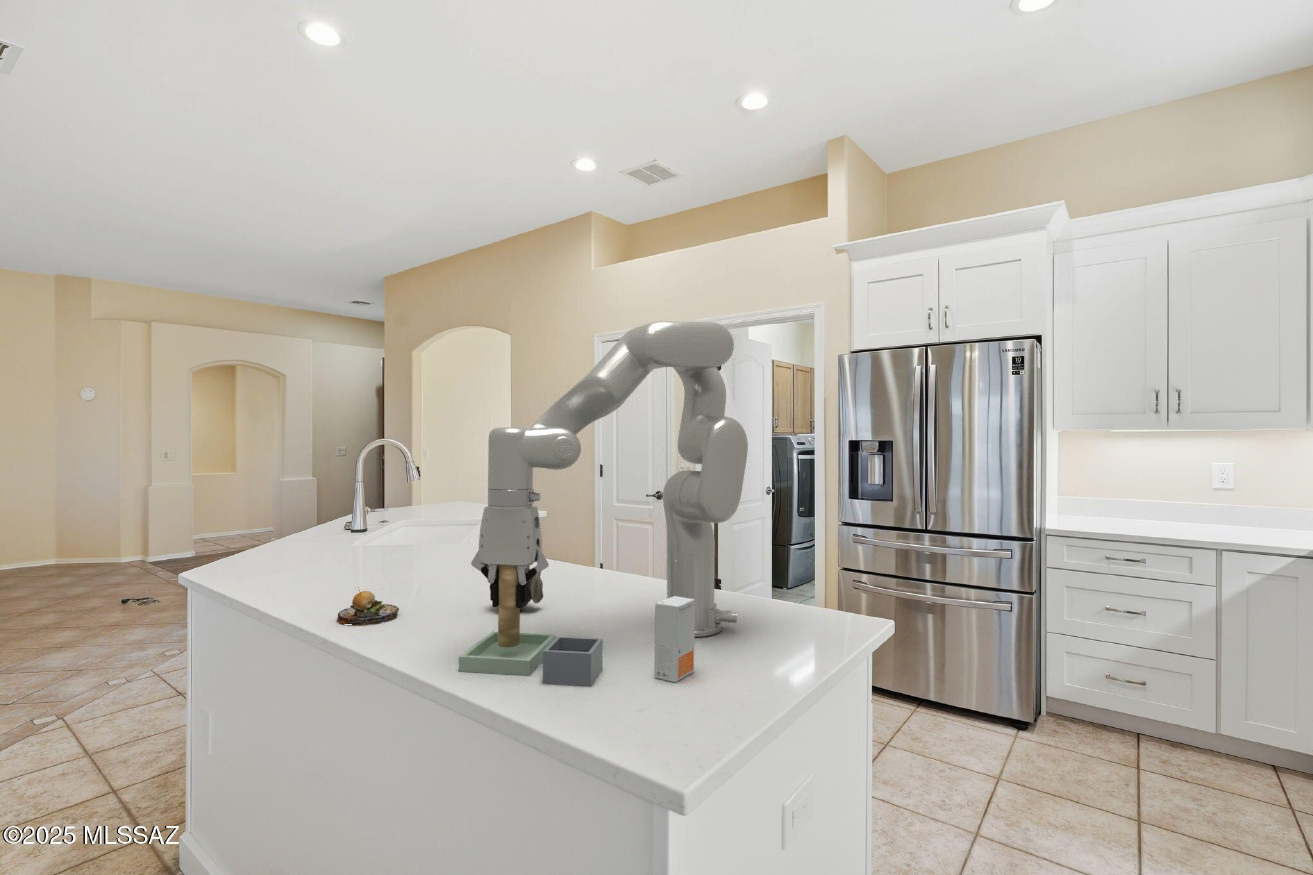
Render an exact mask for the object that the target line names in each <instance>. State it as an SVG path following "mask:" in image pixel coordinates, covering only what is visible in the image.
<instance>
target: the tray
mask: <svg viewBox="0 0 1313 875" xmlns="http://www.w3.org/2000/svg"><path fill="white" fill-rule="evenodd" d="M556 637H557V634H548V633H528V632H527V633H525V632H520V644H519V645H518V646H515V647H500V646H498V631H492V632H490V633H489V634H488V635H485V637H484V638H482V639H481V640H479V641H478V642H476V643H475V644H474V645H473V646H471V647H470V648H468V649H467V650H465V652H463V653H461V654H460V655H459V656H458V672H463V673H477V674H478V673H481V674H482V673H483V674H496V675H497V674H498V675H515V676H531V675H532V674H533V673H534V671H536V669H538V667H539V666H540V665H541V664H543V650H544V649H545V648H546V647H547V646H548V645H549V644H550V643H551V642H552V641H553V640H554V639H555V638H556Z"/></svg>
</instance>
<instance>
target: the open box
mask: <svg viewBox="0 0 1313 875" xmlns="http://www.w3.org/2000/svg"><path fill="white" fill-rule="evenodd" d="M603 643H604V642H603V638H598V637H580V636H578V637H576V636H560V635H559V636H557V635H556V638H555V639H554V640H553V641H552V642H551V643H550V644H549V645H548V646H547V647H546V648H545V649H544V650H543V662H542V684H547V685H549V684H550V685H562V686H563V685H564V686H565V685H566V686H580V687H592V686H593V684H594V682H595V681H596V680H597V678H598V676H599V675H600V673H601V671H602V670H603V664H604V663H603V659H604V658H603V645H604V644H603Z"/></svg>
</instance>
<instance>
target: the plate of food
mask: <svg viewBox="0 0 1313 875" xmlns="http://www.w3.org/2000/svg"><path fill="white" fill-rule="evenodd" d="M357 588H358V590H359V592H358V593H356V594H355V595H354V596H353V598H352V602H351V603H352V604H351V605H350V606H349V607H347V608H344V609H342V610H340V611H339V612H338V613H337V623H338V622H339V623H338V624H342V625H343V624H352V625H349V626H350V627H351V626H352V627H353V626H355V627H357V626H368V625H367V624H373V625H379V624H381V623H380V622H384V623H388V622H390V621H393V620H395V619H397V617H398V612H399V611H400V608H399V607H398V606H396V605H392V604H389V603H388V604H387V603H385V604H384V603H383V600H380V601H379V600H377V599H376V596H375V594H374V593H373V592H371V591H369V590H368V591H367V590H363V591H360V588H359V586H357Z"/></svg>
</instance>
